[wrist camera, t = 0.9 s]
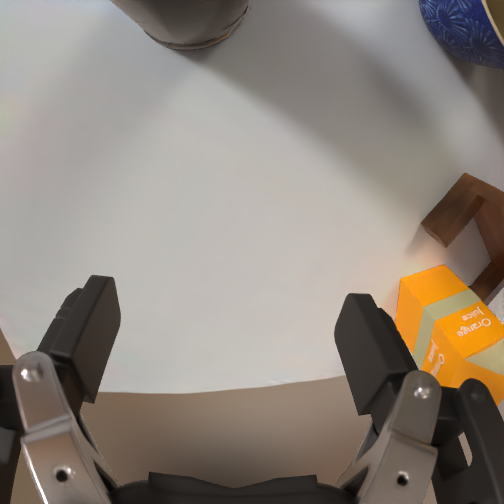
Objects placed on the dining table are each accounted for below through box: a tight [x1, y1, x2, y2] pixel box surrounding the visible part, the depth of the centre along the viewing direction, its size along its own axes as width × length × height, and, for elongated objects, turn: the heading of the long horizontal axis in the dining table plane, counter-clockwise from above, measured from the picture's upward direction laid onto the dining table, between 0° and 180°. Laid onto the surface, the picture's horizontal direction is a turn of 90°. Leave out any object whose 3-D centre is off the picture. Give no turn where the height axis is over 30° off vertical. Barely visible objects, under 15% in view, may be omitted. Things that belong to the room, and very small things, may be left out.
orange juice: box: [395, 264, 504, 406], centre depth 29 cm, size 8×9×20 cm
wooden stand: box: [421, 173, 504, 306], centre depth 31 cm, size 9×20×8 cm, turn 49°
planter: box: [419, 0, 504, 69], centre depth 15 cm, size 12×12×11 cm
